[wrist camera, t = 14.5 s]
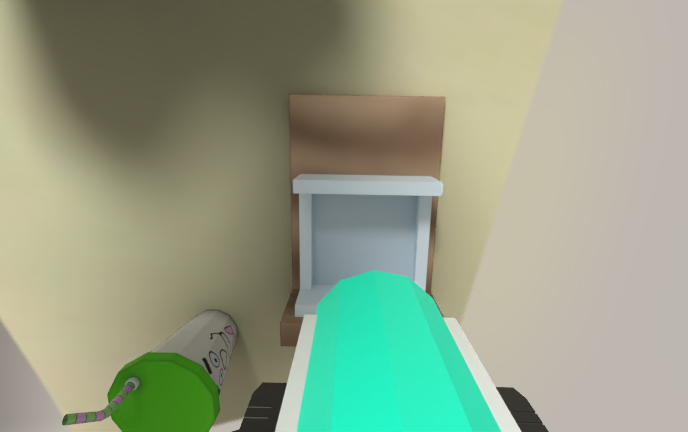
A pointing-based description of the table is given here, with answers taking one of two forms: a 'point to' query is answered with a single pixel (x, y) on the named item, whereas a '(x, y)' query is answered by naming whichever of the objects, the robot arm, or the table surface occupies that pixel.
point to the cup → (172, 381)
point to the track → (360, 155)
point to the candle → (387, 364)
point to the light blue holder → (361, 229)
